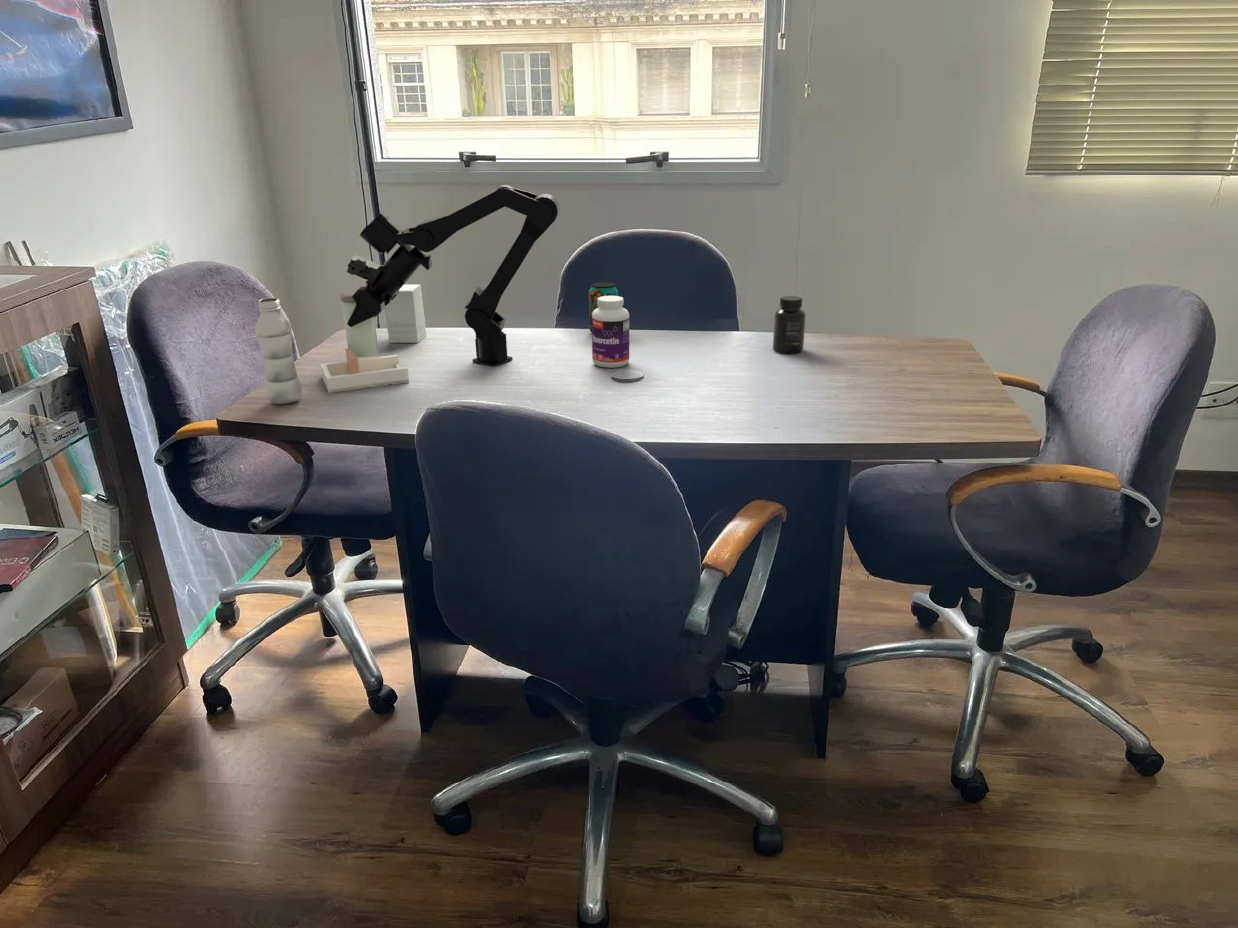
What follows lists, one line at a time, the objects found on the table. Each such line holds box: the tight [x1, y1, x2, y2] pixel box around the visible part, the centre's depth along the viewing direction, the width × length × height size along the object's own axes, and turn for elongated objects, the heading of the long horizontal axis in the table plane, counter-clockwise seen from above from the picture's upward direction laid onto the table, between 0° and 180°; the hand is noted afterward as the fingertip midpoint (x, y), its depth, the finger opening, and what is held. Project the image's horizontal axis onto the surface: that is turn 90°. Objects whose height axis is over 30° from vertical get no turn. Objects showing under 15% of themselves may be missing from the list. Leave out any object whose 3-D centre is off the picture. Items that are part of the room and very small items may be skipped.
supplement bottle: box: [772, 295, 807, 355], centre depth 199 cm, size 7×7×12 cm
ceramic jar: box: [339, 290, 380, 358], centre depth 193 cm, size 7×7×13 cm
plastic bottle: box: [254, 297, 303, 405], centre depth 168 cm, size 6×7×20 cm
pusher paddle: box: [345, 348, 359, 374], centre depth 183 cm, size 1×8×5 cm, turn 24°
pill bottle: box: [591, 295, 630, 369], centre depth 191 cm, size 8×8×14 cm
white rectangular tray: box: [319, 354, 410, 394], centre depth 184 cm, size 16×11×3 cm
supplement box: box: [384, 284, 427, 344], centre depth 212 cm, size 7×7×13 cm
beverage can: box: [588, 281, 619, 333], centre depth 215 cm, size 7×7×12 cm
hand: (353, 321), depth 193 cm, fingers closed on ceramic jar, 6 cm apart
